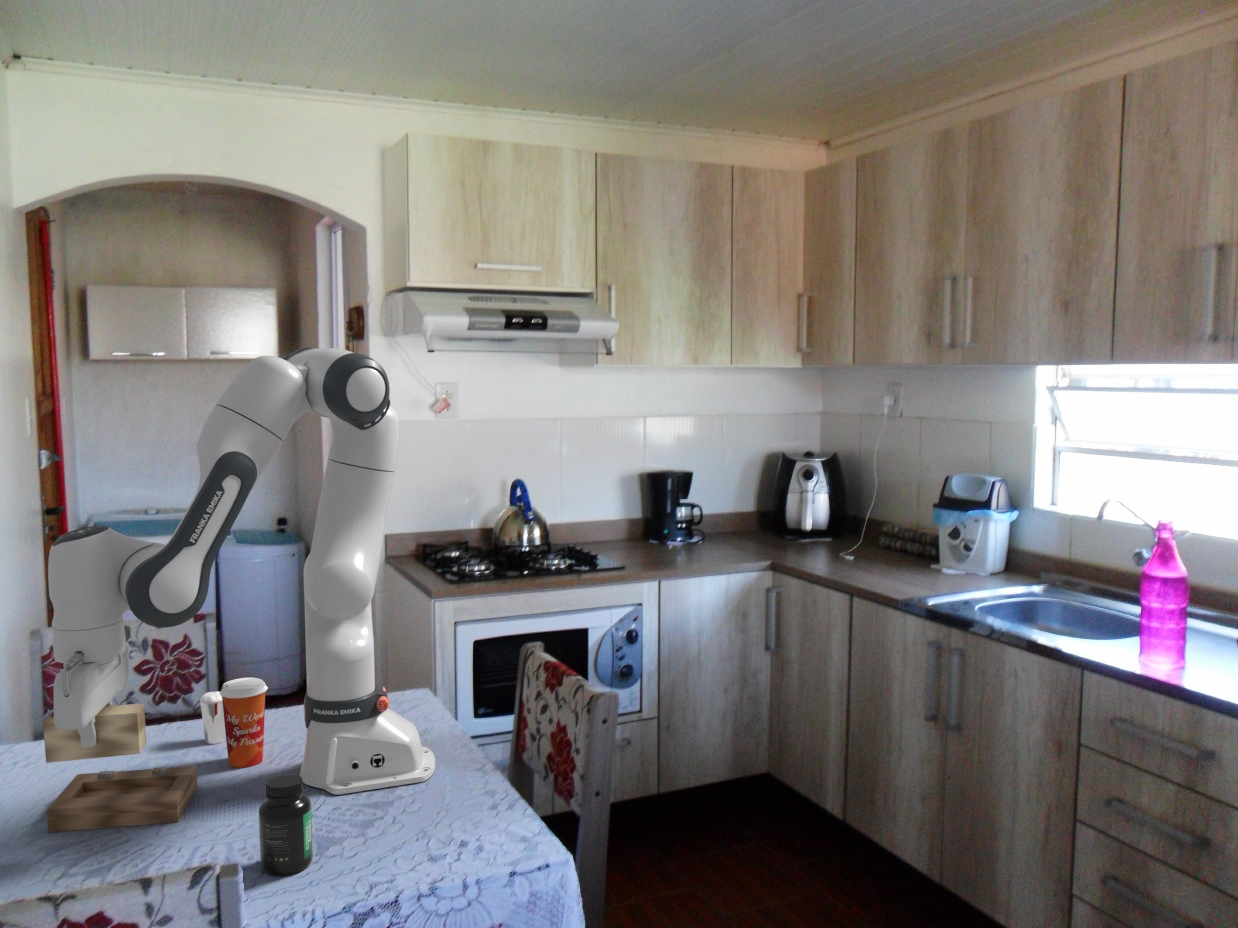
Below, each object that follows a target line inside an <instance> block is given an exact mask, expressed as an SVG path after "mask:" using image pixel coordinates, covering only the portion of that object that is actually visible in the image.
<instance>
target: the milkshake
mask: <svg viewBox="0 0 1238 928" xmlns="http://www.w3.org/2000/svg"><path fill="white" fill-rule="evenodd" d="M199 704H200V710H201V717H202V725H203V733H204V734H203V735H204V742H205V743H206V744H208V745H216V744H220V743H223V742H224V741H225V735H226V732H225V722H224V712H223V702H222V696H221V695H220V691H208V692H205V693H204V694H202V695H201V697H200V699H199Z"/></svg>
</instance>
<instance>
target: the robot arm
mask: <svg viewBox="0 0 1238 928" xmlns="http://www.w3.org/2000/svg"><path fill="white" fill-rule="evenodd" d="M390 390H391V388H390V381H389V378H388V375H387V372H386V371H385V369H384V367H383V366H382V365H381V364H380V363H379V362H378V361H376V360H375V359H374V358H372V357H370V356H368V355H366V354H363V353H359V352H353V351H350V350H346V349H342V348H339V347H338V348H336V347H329V348H326V347H325V348H324V347H322V348H321V347H317V346H308V347H303V348H300V349H297V350H294V351H292V352H291V353H290V354H288V355H287V356H285V357H284V358H282V357H278V356H273V355H261V356H260V355H259V356H258V357H255V358H254V359H252V360H251V361H250V362H248V364H247V365H246V366H245V367H244V368H243V369H241V371H240V372H239V373H238V375H236V376H235V378H234V379H233V380H232V381H231V383H230V384H229V385H228V386H227V388H226V389H225V390H224V392H223V393H222V395H221V396H220V397H219V399H218V400H217V402H216V404H215V405H214V406H213V407H212V410H211V411H210V413H209V414H208V416H207V418H206V420H205V422H204V424H203V425H202V428H201V431H200V433H199V437H198V440H197V443H196V446H195V447H196V455H197V458H198V462H199V473H200V474H199V483H198V487H197V490H196V492H195V494H194V496H193V498H192V500H191V502H190V504H189V506H188V508H187V509H186V511H185V513H184V514H183V517H182V518H181V519H180V522H179V523H178V525H177V527H176V528H175V530H174V532H173V534H172V536H171V537H170V539H169V540H168V542H167V543H166V544H164V543H159V542H152V541H146V540H141V539H137V538H135V537H130V536H129V535H125V534H123V533H120V532H118V531H116V530H114V529H112V528H111V527H110V526H108V525H93V526H85V527H81V528H76V529H75V530H70V531H68V532H66V533H64V534H61V535H60V536H58V537H57V538H56V539H55V540H54V541H53V542H52V544H51V545H50V546H51V547H50V549H49V554H48V563H47V564H48V565H47V567H48V569H47V572H48V574H47V578H48V594H49V595H48V596H49V599H50V601H51V603H52V607H53V617H52V621H51V631H52V632H51V633H52V649H53V659H54V661H55V662H57V663H59V664H63V669H61V670H60V671H59V672H58V673H57V674H56V675H55V678H54V682H53V711H54V723H55V726H56V728H57V729H58V730H60V731H64V730H76V729H77V731H78V733H79V735H80V737H81V746H82V747H84V748H86V747H93V746H95V744H96V743H97V742H98V731H95V726H94V722H95V716H96V715H97V714H98V713H99V712H100V711H101V710H102V709H103V708H104V707H106V706H114V705H113V703H114V697H116V695H118V693H119V692H120V691H121V690H122V689H123V688H124V687H125V686H126V685H127V683H128V679H129V675H130V674H129V672H130V669H129V668H130V667H129V666H130V649H129V648H130V647H129V642H128V641H130V639H131V638H132V626H131V625H130V624H129V623H124V613H126V612H127V611H131V613H132V614H133V615H134V616H135V618H137V619H138V620H139V621H140V622H142V623H144V624H146V625H148V626H150V627H154V628H162V629H163V628H173V627H176V626H180V625H182V624H184V623H186V622H188V621H190V620H191V619H192V618H194V617H195V616H196V615H197V614H198V613H199V612H200V610H201V609H202V608H203V606H204V605H205V603H206V599H207V598H208V594H209V587H210V581H211V580H210V579H211V573H212V568H213V564H214V561H215V560H216V558H217V556H218V554H219V552H220V550H221V548H222V546H223V544H224V543H225V540H226V539H227V538H228V534H229V533H230V531H231V529H232V527H233V525H234V524H235V521H236V520H237V518H238V516H239V514H240V513H241V511H242V509H243V507H244V505H245V503H246V501H247V499H248V497H249V495H250V493H251V492H252V490H253V489H254V487H255V486H256V484H257V482H258V481H259V479H260V478H261V476H262V474H263V473H264V472H265V470H266V469H267V467H268V466H269V465H270V463H271V461H272V460H273V458H274V457H275V455H276V454H277V452H278V451H279V449H280V448H281V446H282V445H283V442H284V441H285V439H286V438H287V436H288V435H289V432H290V431H291V428H292V426H293V425H294V424H295V423H296V422H297V420H299V418H300V417H302V416H303V415H304V414H306V413H308V412H309V413H311V414H313V415H316V416H319V417H323V418H328V419H329V420H330V423H331V428H332V440H331V443H330V444H331V445H330V448H329V452H328V458H327V461H326V467H325V471H324V476H323V482H322V485H321V486H322V487H321V492H320V496H319V501H318V506H317V512H316V518H315V523H314V524H315V525H314V529H313V535H312V541H311V547H310V553H308V556H307V557H306V559H305V562H304V565H303V573H302V574H303V601H304V602H303V603H304V628H305V630H304V631H305V634H304V635H305V663H306V664H305V665H306V666H305V667H306V669H305V670H306V692H305V695H304V700H303V719H304V724H305V728H306V733H305V734H306V735H305V736H306V737H305V745H304V753H303V758H302V763H301V766H300V771H299V774H298V775H299V776H301V777H302V780H303V784H305V785H307V786H310V787H314V788H318V789H322V790H325V791H327V792H328V793H329V794H332V795H336V796H337V795H345V794H351V793H357V792H364V791H370V790H371V791H373V790H376V789H377V790H378V789H384V788H389V787H390V788H391V787H396V786H403V785H409V784H416V783H422V782H425V781H426V780H428V779H430V777H432V775H433V774H434V772H435V770H436V759H435V758H436V757H435V754H434V752H433V751H432V749H430V748H429V747H426V746H425V745H424V746H423V745H422V744H423V743H422V740H421V735H420V734H419V731H418V728H417V727H416V726H415V724H414V723H413V722H411V721H409V720H408V719H406V718H404V717H403V716H401V715H400V714H398V713H397V712H395V711H393V710H391V709H390V708H389V706H390V699H389V698H388V693H387V690H386V688H385V687H384V686H383V687H382V689H381V688H380V687H379V686H376V682H375V680H376V677H375V674H376V673H375V640H374V627H373V615H372V614H373V610H372V599H373V597H374V596H375V589H376V585H377V579H378V574H379V568H380V567H379V566H380V559H381V553H382V548H383V541H384V540H383V539H384V532H385V531H384V530H385V523H386V517H387V512H388V508H389V503H390V497H391V492H392V487H393V483H394V478H395V473H396V468H397V463H398V454H399V446H400V417H399V415H398V413H397V411H396V410H395V408H393V407H392V406H391V400H390V394H391V393H390Z"/></svg>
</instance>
